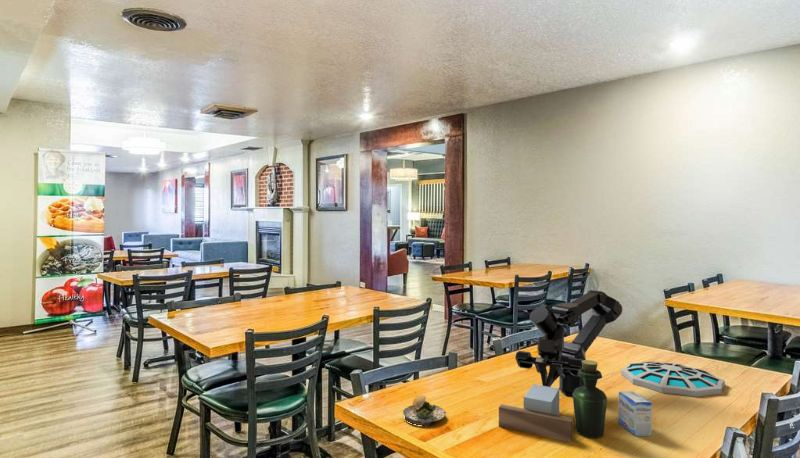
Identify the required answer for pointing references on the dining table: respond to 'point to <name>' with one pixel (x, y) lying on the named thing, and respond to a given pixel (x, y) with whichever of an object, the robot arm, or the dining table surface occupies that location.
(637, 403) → the medicine box
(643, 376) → the decorative platform
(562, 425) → the walnut board
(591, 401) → the potion bottle
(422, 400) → the grey dish with food
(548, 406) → the slate block
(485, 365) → the dining table surface
